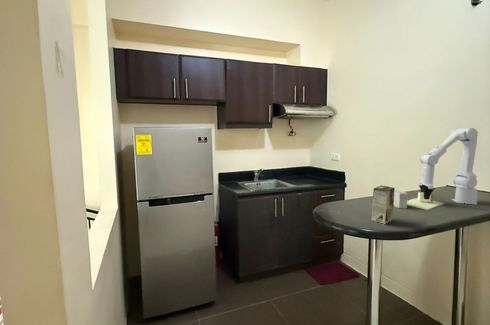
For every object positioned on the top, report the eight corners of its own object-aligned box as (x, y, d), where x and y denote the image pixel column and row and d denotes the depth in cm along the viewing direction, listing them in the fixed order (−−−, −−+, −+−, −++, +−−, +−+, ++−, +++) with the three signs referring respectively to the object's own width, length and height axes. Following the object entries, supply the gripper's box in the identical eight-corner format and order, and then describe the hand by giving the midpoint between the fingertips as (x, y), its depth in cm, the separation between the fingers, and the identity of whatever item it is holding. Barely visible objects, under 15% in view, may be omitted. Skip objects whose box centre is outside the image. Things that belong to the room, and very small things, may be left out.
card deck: (417, 199, 152) (418, 192, 151) (430, 200, 150) (431, 193, 149) (419, 200, 149) (420, 193, 148) (432, 201, 147) (433, 194, 146)
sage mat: (416, 198, 159) (416, 197, 159) (443, 204, 148) (443, 203, 148) (400, 203, 149) (400, 202, 149) (428, 210, 137) (428, 209, 137)
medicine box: (407, 208, 139) (408, 193, 138) (398, 208, 140) (400, 193, 138) (398, 204, 147) (399, 189, 146) (390, 204, 147) (391, 189, 146)
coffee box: (378, 216, 127) (380, 185, 125) (392, 220, 122) (395, 187, 120) (370, 221, 121) (373, 187, 119) (385, 225, 116) (387, 190, 114)
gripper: (415, 172, 155) (413, 194, 157) (423, 177, 142) (421, 200, 144) (429, 173, 153) (427, 195, 155) (438, 178, 139) (436, 202, 141)
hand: (425, 198), depth 149 cm, fingers closed on card deck, 3 cm apart
